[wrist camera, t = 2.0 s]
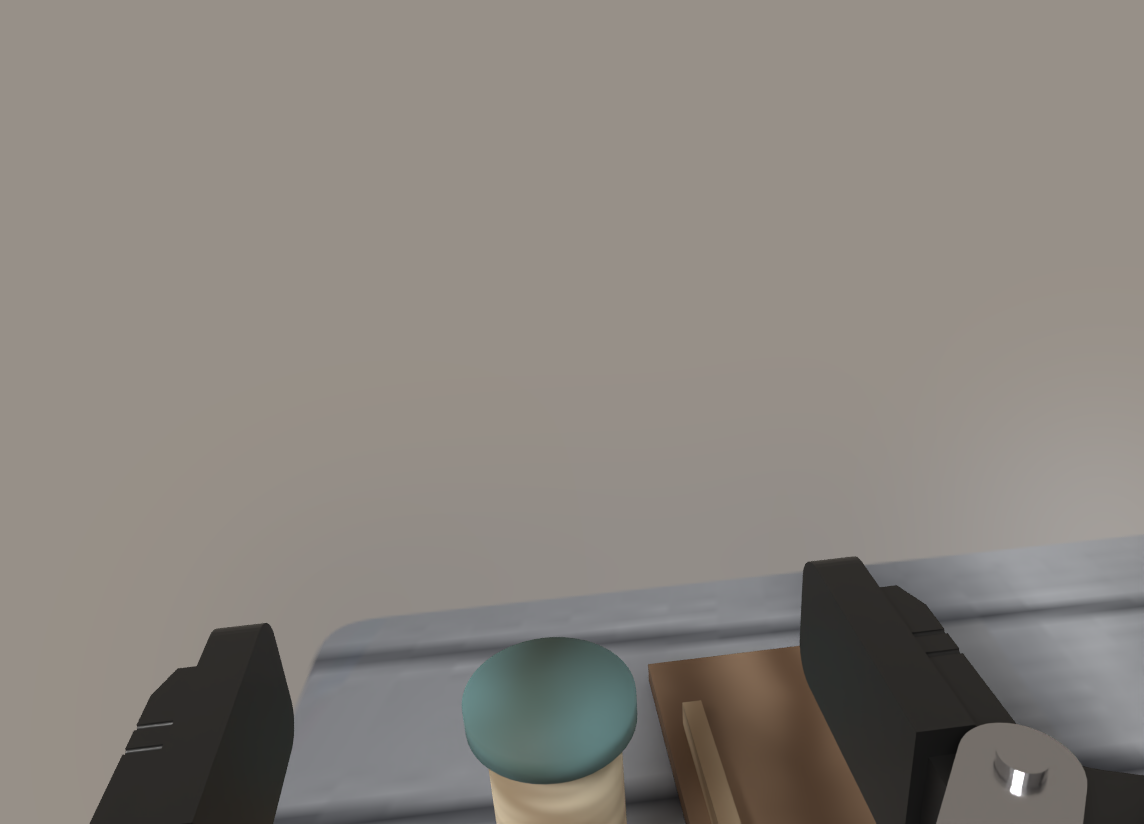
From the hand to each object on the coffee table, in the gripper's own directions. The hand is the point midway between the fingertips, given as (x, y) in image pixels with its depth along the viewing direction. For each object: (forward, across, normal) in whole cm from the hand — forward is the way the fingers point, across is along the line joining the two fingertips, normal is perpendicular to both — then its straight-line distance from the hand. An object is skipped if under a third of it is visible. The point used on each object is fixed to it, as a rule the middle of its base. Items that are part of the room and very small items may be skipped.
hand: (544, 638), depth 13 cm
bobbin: (+13, 0, +28) cm, 31 cm away
